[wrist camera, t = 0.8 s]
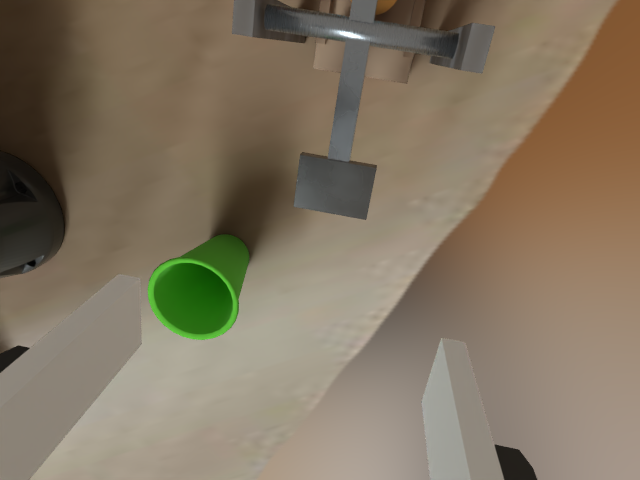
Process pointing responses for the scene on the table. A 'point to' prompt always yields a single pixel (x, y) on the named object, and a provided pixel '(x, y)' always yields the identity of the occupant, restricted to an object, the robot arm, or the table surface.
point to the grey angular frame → (380, 60)
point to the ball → (383, 6)
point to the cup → (200, 288)
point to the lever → (349, 97)
